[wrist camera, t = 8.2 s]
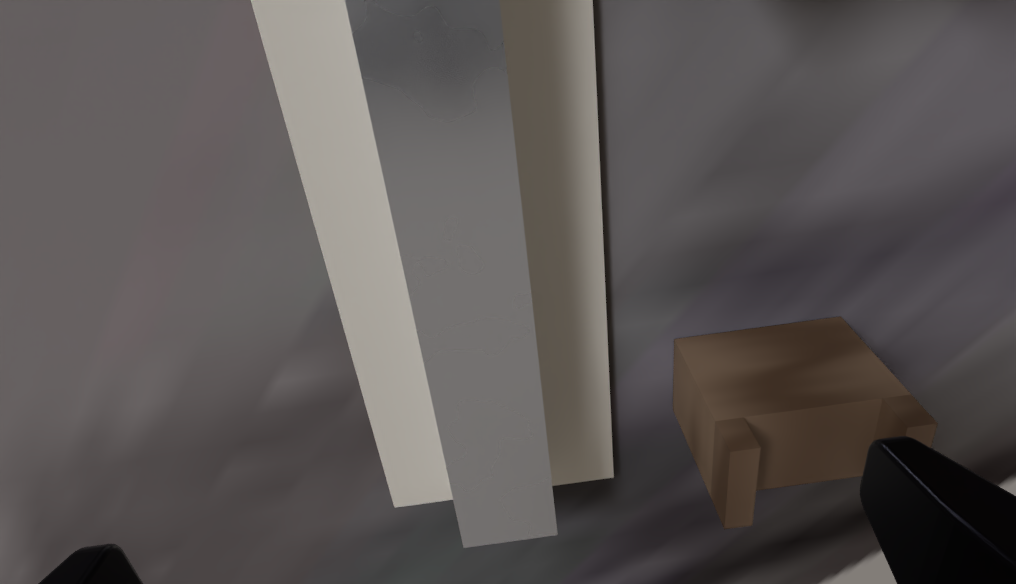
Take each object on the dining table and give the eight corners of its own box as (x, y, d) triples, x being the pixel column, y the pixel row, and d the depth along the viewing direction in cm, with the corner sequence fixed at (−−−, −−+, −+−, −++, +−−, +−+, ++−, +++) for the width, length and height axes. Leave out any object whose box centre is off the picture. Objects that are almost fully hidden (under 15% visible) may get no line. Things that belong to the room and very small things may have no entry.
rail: (451, -369, 13) (452, -431, 10) (545, 466, 24) (557, 535, 22) (294, -350, 13) (256, -406, 10) (461, 477, 24) (463, 547, 22)
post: (840, 316, 22) (937, 423, 18) (828, 387, 24) (915, 502, 20) (674, 339, 22) (730, 452, 18) (672, 409, 24) (724, 528, 20)
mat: (569, -449, 13) (572, -458, 13) (611, 469, 25) (613, 477, 25) (144, -395, 13) (137, -403, 13) (395, 499, 25) (394, 507, 25)
